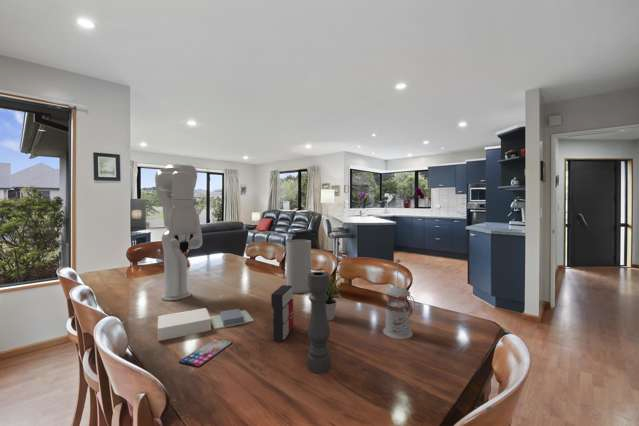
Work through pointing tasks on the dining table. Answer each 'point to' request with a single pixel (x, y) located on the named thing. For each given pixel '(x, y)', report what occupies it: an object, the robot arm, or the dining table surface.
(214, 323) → the mat
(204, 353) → the smartphone
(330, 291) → the house plant
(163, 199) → the robot arm
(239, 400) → the dining table surface
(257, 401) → the dining table surface
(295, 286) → the cylinder vase
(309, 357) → the candle holder
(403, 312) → the french press
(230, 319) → the tile
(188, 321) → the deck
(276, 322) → the dark grey box
